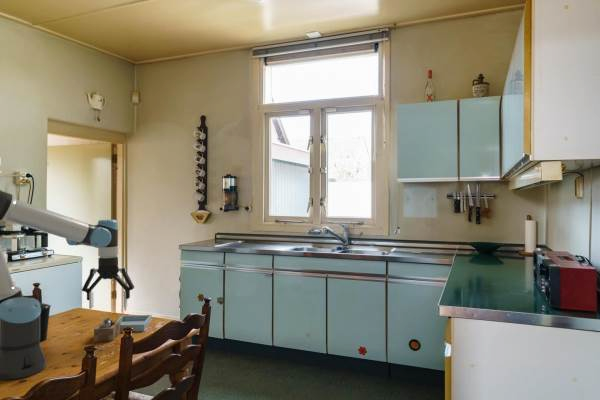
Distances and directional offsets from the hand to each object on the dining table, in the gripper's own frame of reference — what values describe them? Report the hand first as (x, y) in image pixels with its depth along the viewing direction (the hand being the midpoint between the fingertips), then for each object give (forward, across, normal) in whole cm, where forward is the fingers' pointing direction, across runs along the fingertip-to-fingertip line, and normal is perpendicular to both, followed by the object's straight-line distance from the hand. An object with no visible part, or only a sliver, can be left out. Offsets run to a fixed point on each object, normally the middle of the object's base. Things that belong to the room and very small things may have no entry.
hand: (108, 307), depth 175 cm
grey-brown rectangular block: (+12, 0, 0) cm, 12 cm away
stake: (+12, 0, +1) cm, 12 cm away
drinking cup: (+12, +26, +1) cm, 29 cm away
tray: (+13, -6, -14) cm, 20 cm away
